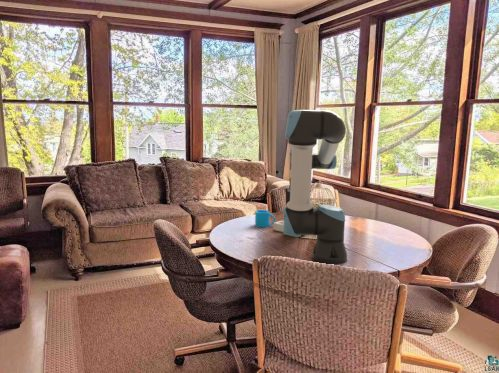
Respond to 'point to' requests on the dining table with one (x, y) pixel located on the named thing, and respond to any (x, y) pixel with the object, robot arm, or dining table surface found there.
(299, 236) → the socket
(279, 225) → the mount
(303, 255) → the dining table surface
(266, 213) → the mug
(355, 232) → the dining table surface
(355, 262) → the dining table surface
